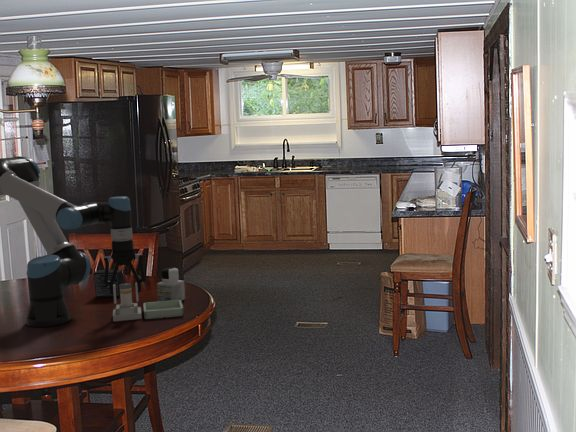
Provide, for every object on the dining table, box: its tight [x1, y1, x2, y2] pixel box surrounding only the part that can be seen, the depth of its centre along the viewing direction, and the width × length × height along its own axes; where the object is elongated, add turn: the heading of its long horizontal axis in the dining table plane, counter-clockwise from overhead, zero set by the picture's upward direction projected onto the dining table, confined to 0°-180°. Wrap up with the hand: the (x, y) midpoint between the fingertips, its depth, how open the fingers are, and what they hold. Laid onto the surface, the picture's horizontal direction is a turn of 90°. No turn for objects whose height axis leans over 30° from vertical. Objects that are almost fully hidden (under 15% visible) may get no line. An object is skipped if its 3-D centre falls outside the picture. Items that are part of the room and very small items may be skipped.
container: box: [156, 267, 186, 302], centre depth 303 cm, size 8×8×13 cm
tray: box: [142, 300, 185, 320], centre depth 285 cm, size 14×14×3 cm
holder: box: [112, 302, 143, 322], centre depth 282 cm, size 10×10×4 cm
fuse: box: [119, 282, 133, 308], centre depth 281 cm, size 4×4×10 cm
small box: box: [93, 269, 125, 299], centre depth 317 cm, size 11×6×10 cm, turn 84°
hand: (126, 301), depth 281 cm, fingers open, 7 cm apart
